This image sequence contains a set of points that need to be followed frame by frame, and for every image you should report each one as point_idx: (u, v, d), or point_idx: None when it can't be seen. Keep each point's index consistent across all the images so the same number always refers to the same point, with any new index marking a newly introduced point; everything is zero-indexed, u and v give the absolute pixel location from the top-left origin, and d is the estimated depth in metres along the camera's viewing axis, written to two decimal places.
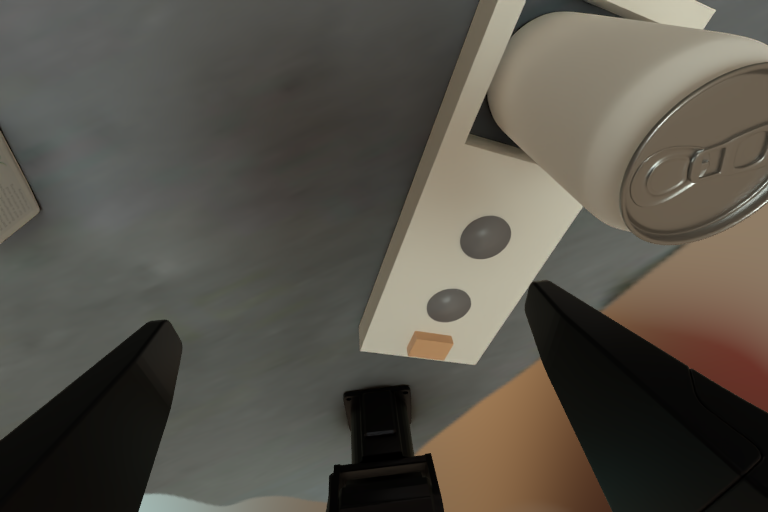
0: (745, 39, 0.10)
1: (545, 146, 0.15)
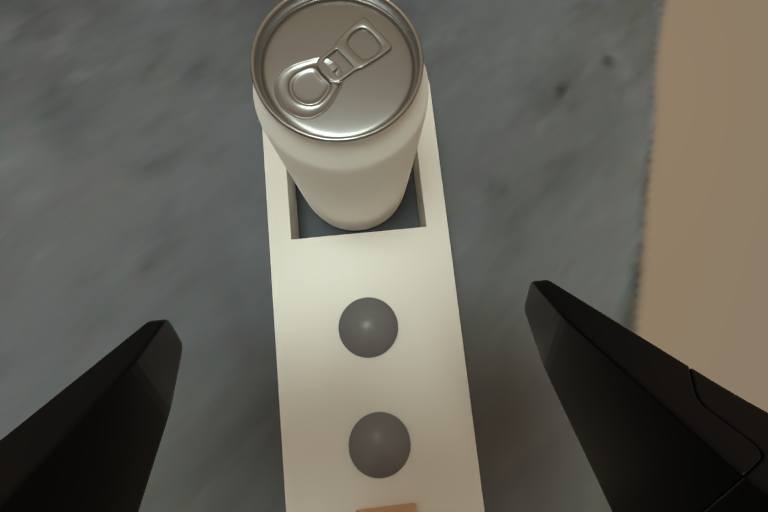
0: None
1: (285, 166, 0.16)
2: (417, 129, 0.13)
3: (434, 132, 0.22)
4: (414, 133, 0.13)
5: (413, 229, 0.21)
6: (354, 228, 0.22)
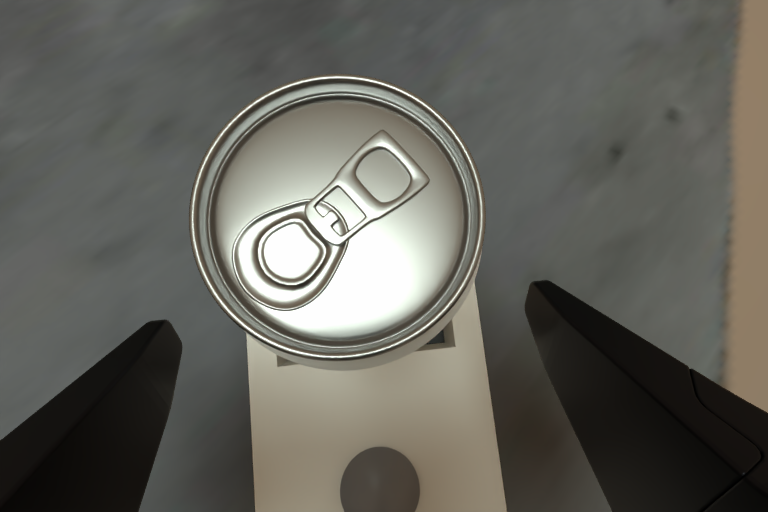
0: None
1: None
2: (466, 296, 0.08)
3: None
4: None
5: (438, 350, 0.16)
6: None
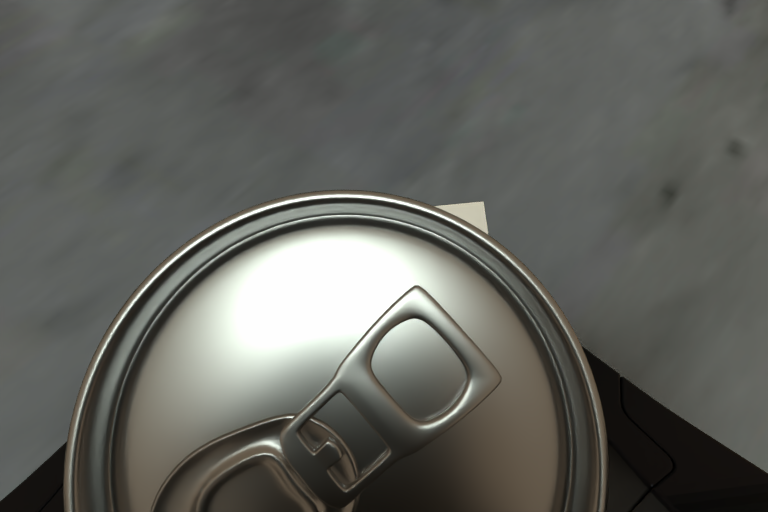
0: None
1: None
2: None
3: None
4: None
5: None
6: None
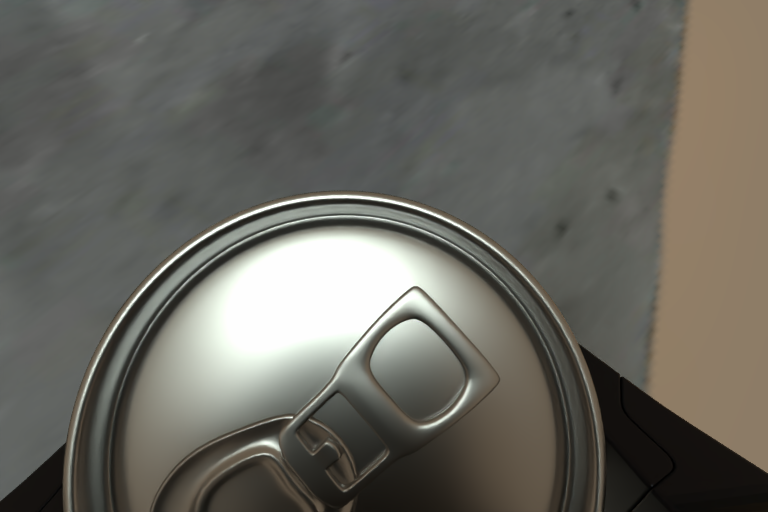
0: None
1: None
2: None
3: None
4: None
5: None
6: None
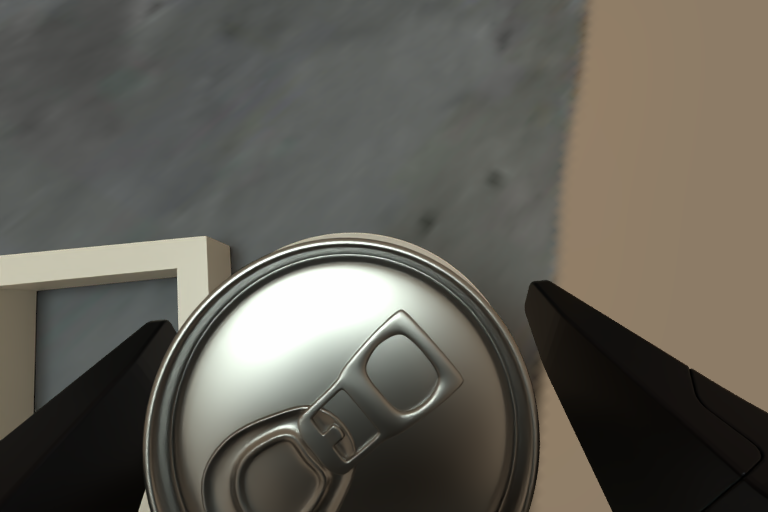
0: (302, 240, 0.07)
1: None
2: None
3: None
4: None
5: None
6: None
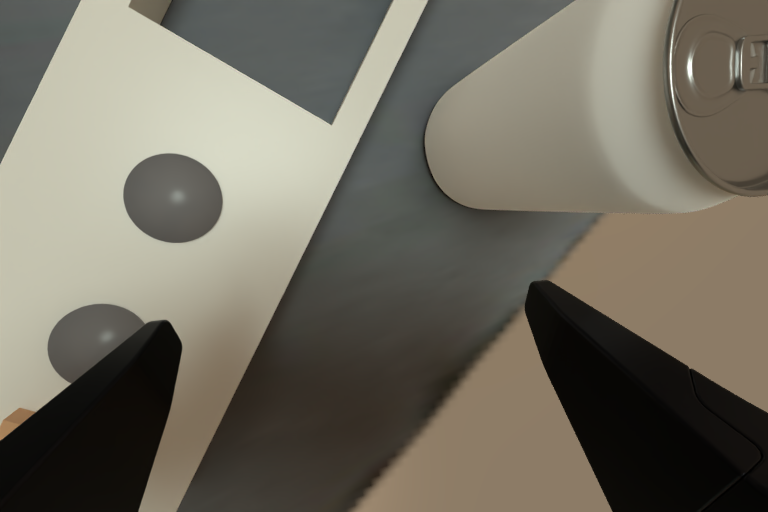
0: None
1: (514, 109, 0.11)
2: None
3: (418, 16, 0.15)
4: None
5: (313, 117, 0.14)
6: (457, 198, 0.18)
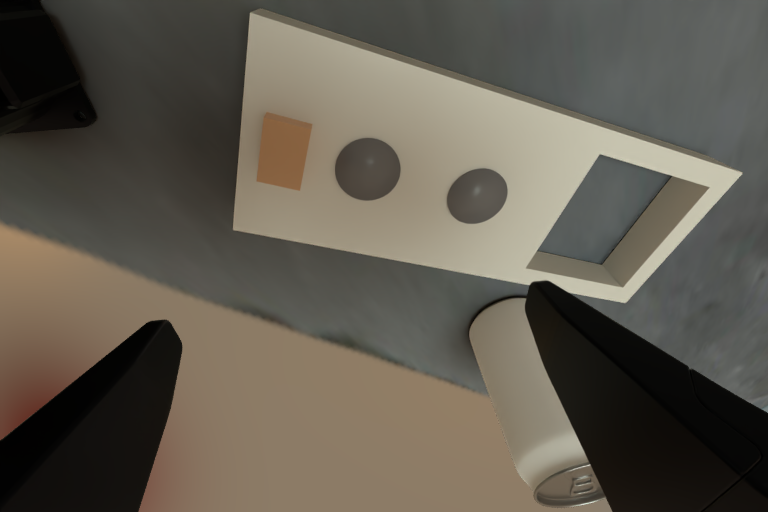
0: None
1: (551, 385, 0.22)
2: None
3: (588, 295, 0.25)
4: (520, 476, 0.22)
5: (530, 258, 0.23)
6: (477, 326, 0.28)
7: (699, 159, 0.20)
